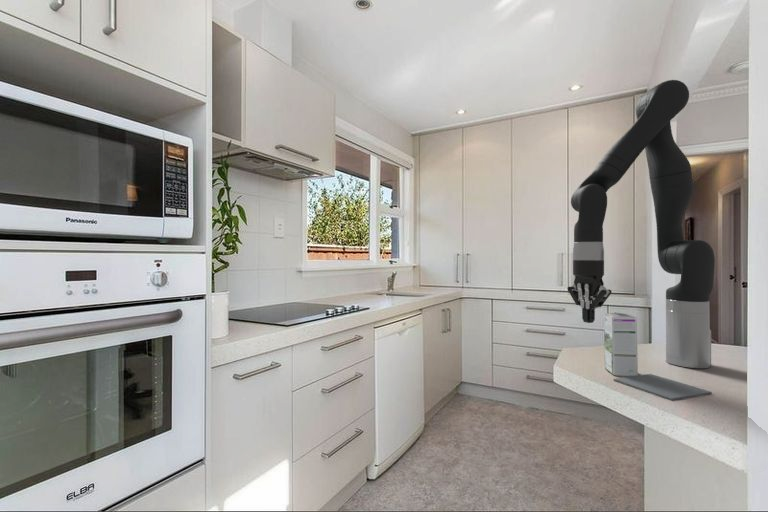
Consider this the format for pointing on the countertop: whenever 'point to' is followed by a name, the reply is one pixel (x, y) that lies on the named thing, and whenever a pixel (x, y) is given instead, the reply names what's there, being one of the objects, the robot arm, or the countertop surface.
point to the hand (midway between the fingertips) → (588, 322)
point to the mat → (662, 386)
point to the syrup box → (621, 344)
